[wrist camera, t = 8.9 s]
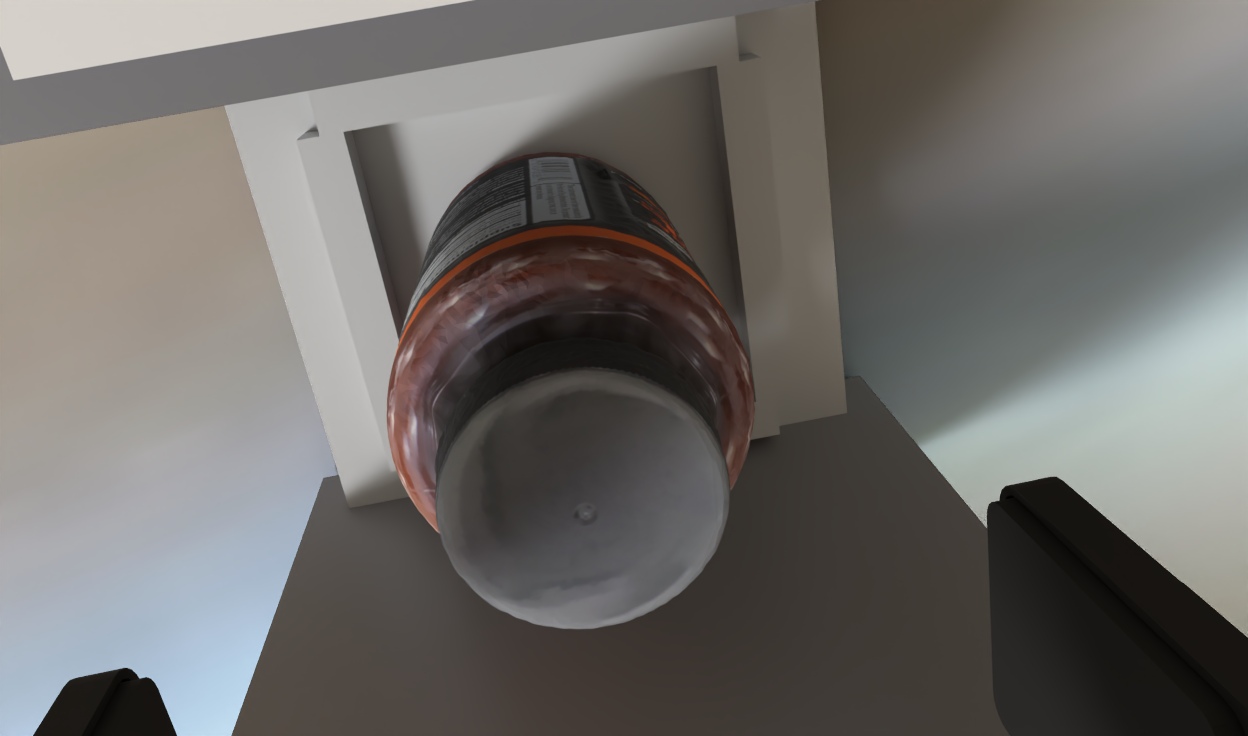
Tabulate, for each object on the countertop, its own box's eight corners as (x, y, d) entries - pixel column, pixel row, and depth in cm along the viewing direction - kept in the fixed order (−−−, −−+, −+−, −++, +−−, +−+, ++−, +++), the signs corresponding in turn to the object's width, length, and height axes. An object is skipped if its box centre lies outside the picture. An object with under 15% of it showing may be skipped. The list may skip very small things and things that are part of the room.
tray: (867, 480, 29) (1149, 895, 16) (355, 579, 29) (229, 1090, 16) (800, -456, 20) (1290, -1150, 8) (64, -339, 20) (-743, -869, 7)
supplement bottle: (719, 315, 25) (874, 580, 14) (507, 427, 25) (506, 761, 15) (605, 94, 22) (688, 217, 12) (375, 222, 23) (263, 447, 12)
